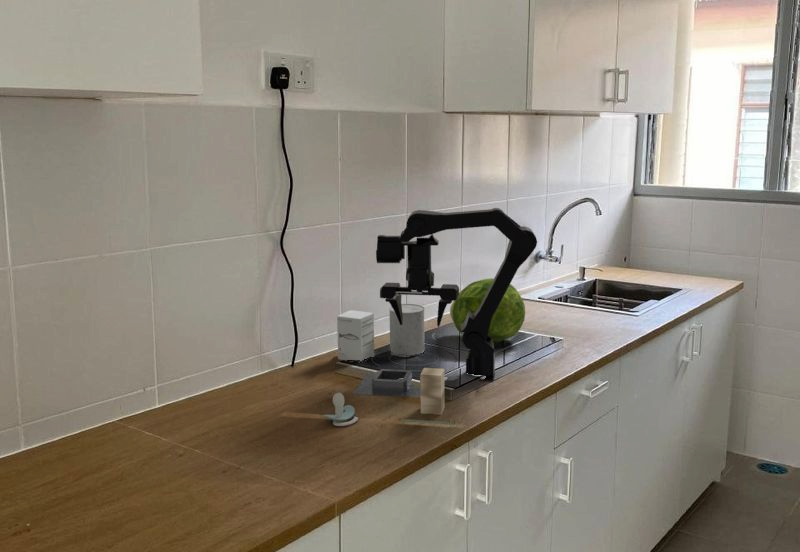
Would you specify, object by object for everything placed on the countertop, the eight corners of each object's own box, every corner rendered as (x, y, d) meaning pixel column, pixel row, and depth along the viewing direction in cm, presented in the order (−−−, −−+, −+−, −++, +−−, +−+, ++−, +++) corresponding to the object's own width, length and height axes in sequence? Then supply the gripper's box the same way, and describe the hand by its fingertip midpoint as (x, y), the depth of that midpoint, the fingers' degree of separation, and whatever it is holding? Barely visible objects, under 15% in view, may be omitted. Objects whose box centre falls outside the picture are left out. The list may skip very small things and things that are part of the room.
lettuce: (475, 328, 244) (463, 271, 240) (540, 332, 228) (529, 271, 224) (435, 352, 231) (422, 292, 227) (502, 357, 215) (489, 293, 211)
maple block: (444, 407, 178) (444, 368, 177) (441, 415, 174) (441, 375, 172) (424, 406, 179) (424, 367, 177) (420, 414, 175) (420, 374, 173)
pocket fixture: (430, 380, 198) (430, 367, 197) (420, 401, 184) (420, 387, 184) (366, 377, 201) (366, 364, 200) (352, 396, 188) (352, 383, 187)
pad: (460, 405, 181) (460, 403, 181) (454, 424, 171) (454, 422, 170) (412, 402, 183) (412, 400, 183) (403, 421, 173) (403, 418, 173)
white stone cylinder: (405, 359, 214) (405, 314, 212) (382, 351, 221) (381, 308, 219) (432, 352, 220) (431, 308, 218) (408, 344, 227) (408, 302, 225)
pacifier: (364, 420, 174) (344, 413, 178) (364, 393, 173) (344, 386, 177) (340, 431, 169) (320, 423, 173) (340, 403, 167) (320, 395, 171)
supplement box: (337, 362, 213) (335, 315, 210) (351, 354, 219) (350, 309, 217) (361, 365, 210) (360, 318, 207) (375, 357, 216) (374, 312, 213)
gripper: (462, 257, 201) (462, 318, 204) (388, 256, 205) (389, 315, 208) (456, 266, 190) (456, 330, 194) (378, 264, 194) (380, 327, 197)
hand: (420, 325), depth 199 cm, fingers open, 9 cm apart
